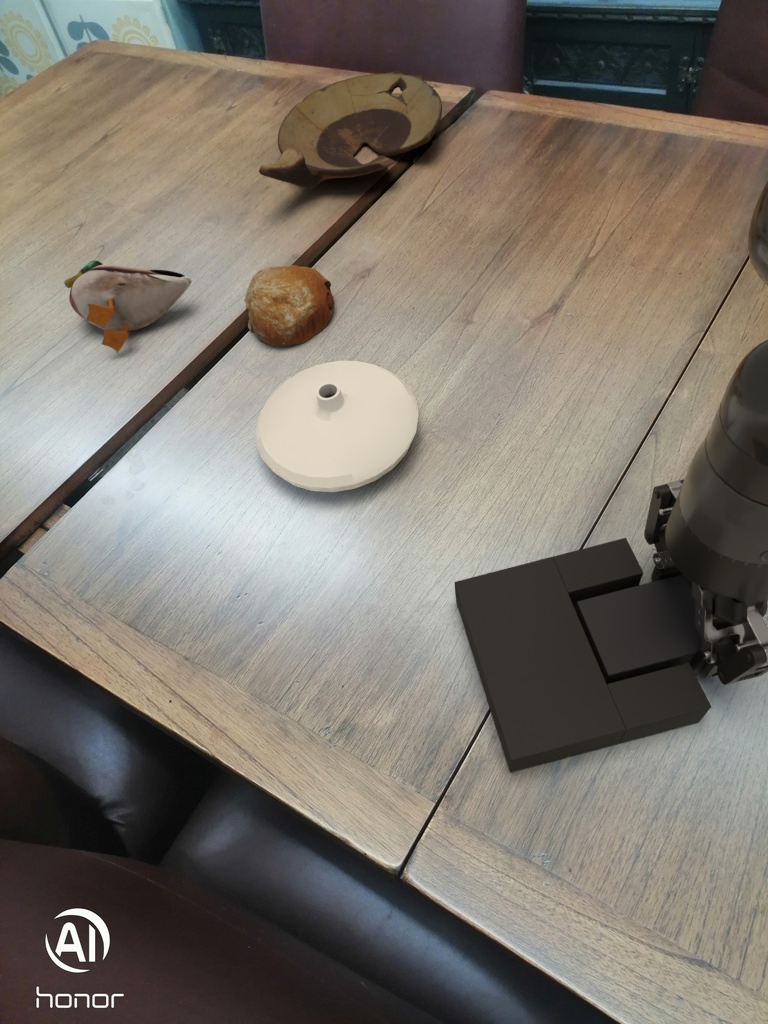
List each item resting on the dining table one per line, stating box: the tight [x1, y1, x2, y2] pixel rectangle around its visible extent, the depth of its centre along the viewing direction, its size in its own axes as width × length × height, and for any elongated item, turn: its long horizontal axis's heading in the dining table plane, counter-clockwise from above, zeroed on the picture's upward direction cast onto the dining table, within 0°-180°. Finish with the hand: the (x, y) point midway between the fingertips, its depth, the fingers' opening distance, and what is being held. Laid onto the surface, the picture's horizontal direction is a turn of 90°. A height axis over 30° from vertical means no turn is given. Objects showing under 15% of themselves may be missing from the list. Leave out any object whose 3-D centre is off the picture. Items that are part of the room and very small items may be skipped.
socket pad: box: [454, 537, 712, 773], centre depth 52 cm, size 14×14×4 cm
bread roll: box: [243, 264, 335, 348], centre depth 78 cm, size 10×10×8 cm
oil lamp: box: [258, 70, 443, 189], centre depth 94 cm, size 22×30×8 cm
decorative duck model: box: [63, 260, 192, 353], centre depth 81 cm, size 15×8×15 cm
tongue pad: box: [575, 574, 729, 684], centre depth 52 cm, size 10×6×4 cm, turn 102°
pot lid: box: [255, 360, 420, 493], centre depth 65 cm, size 16×16×7 cm
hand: (682, 627), depth 53 cm, fingers open, 6 cm apart
